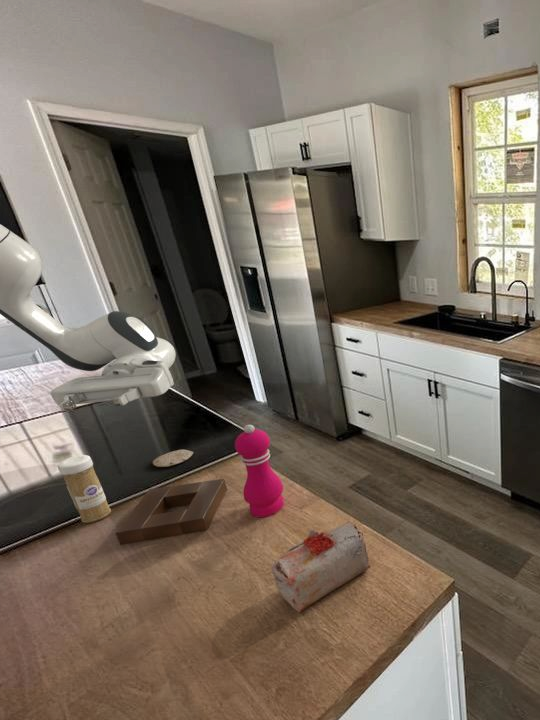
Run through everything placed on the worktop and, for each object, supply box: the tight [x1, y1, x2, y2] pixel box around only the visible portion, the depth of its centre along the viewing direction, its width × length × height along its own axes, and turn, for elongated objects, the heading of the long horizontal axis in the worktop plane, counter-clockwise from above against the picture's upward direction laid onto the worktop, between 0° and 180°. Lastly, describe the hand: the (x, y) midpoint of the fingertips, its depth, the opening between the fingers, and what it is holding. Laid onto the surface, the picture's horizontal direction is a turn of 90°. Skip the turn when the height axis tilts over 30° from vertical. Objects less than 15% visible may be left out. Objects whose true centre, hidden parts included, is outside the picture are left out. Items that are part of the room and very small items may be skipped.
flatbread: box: [152, 449, 194, 468], centre depth 104 cm, size 8×8×1 cm
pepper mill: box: [234, 424, 285, 518], centre depth 85 cm, size 7×7×20 cm
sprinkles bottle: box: [57, 454, 112, 524], centre depth 82 cm, size 5×5×14 cm
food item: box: [270, 521, 371, 613], centre depth 69 cm, size 14×8×10 cm, turn 138°
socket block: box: [115, 478, 228, 546], centre depth 85 cm, size 14×14×3 cm
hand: (91, 405), depth 86 cm, fingers open, 8 cm apart
